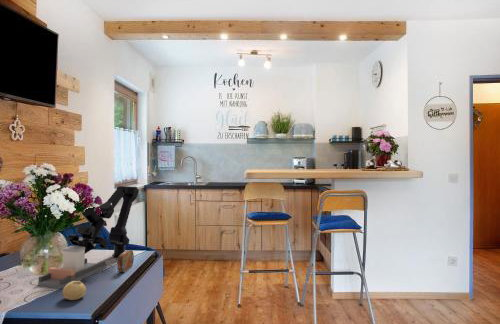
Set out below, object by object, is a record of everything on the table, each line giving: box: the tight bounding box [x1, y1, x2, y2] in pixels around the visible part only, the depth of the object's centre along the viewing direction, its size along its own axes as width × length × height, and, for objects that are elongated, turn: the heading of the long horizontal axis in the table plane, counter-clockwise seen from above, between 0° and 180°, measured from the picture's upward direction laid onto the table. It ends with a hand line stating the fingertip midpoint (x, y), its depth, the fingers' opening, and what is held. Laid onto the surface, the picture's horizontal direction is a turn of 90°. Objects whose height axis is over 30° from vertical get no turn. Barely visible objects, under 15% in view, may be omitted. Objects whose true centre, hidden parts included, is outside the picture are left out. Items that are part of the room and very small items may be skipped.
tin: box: [116, 249, 135, 273], centre depth 168 cm, size 15×3×8 cm, turn 179°
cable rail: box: [37, 257, 107, 290], centre depth 157 cm, size 28×12×6 cm, turn 167°
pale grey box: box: [62, 245, 86, 273], centre depth 156 cm, size 5×7×11 cm
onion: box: [61, 279, 87, 301], centre depth 133 cm, size 8×8×7 cm
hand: (78, 257), depth 159 cm, fingers closed, pressing on pale grey box
